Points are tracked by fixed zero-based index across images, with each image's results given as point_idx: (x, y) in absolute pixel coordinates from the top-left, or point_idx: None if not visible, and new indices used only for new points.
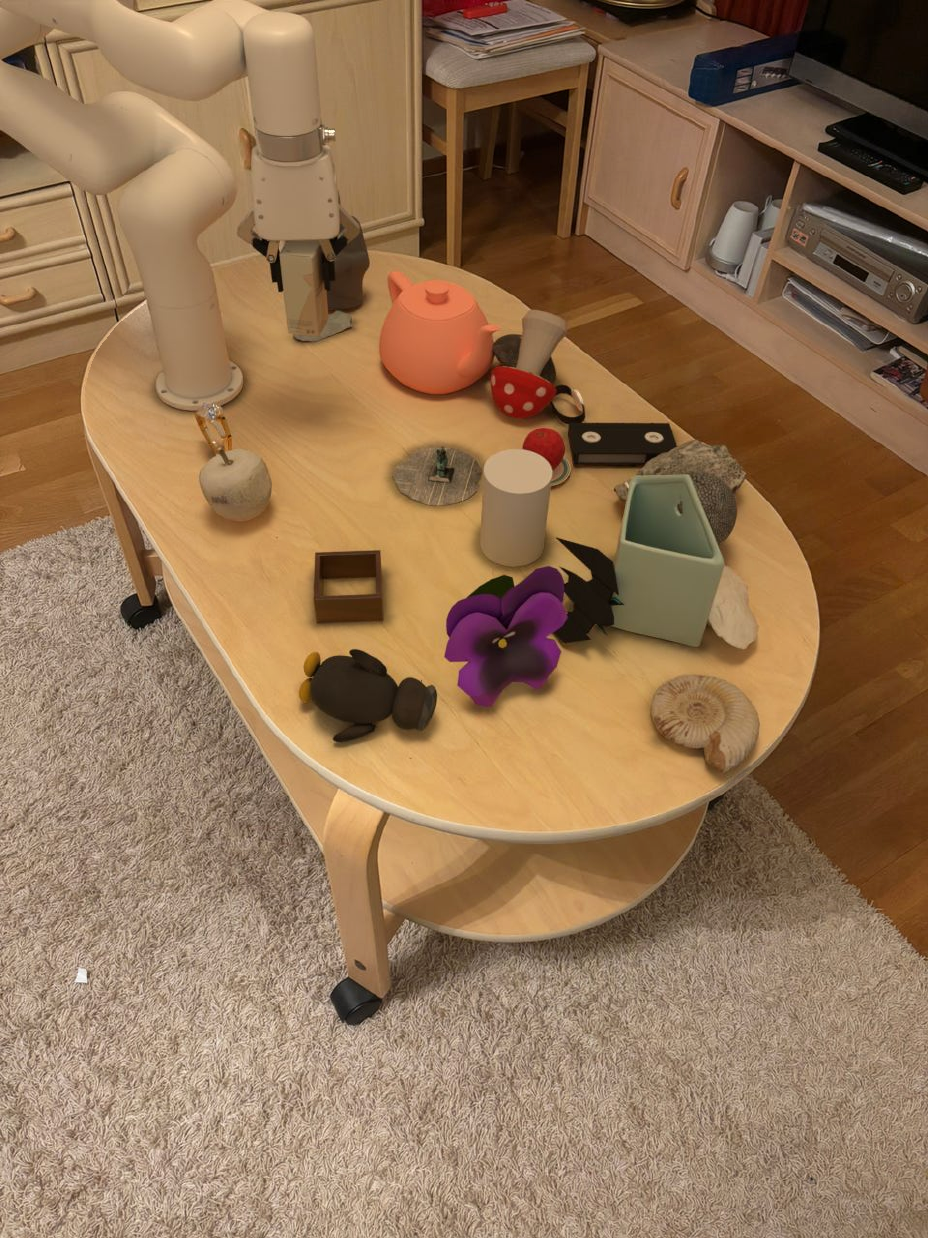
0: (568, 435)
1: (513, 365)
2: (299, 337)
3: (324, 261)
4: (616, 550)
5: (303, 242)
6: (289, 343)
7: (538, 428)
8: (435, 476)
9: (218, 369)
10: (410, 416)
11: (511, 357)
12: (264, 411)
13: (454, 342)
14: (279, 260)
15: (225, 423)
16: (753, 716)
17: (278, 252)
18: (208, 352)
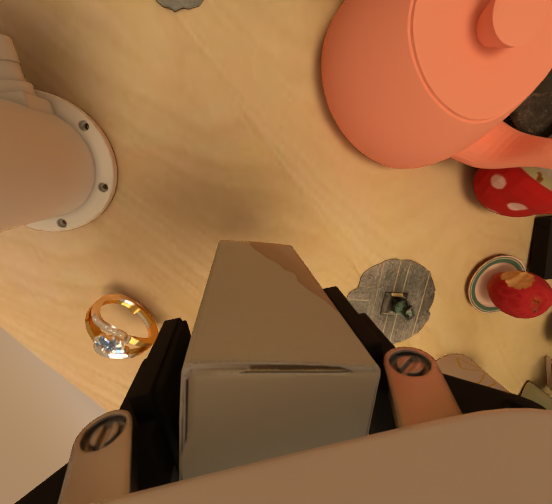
0: (536, 223)
1: (530, 130)
2: (166, 1)
3: (371, 429)
4: (541, 403)
5: (284, 435)
6: (151, 16)
7: (533, 287)
8: (389, 312)
9: (70, 195)
10: (360, 204)
11: (537, 120)
12: (168, 215)
13: (479, 137)
14: (174, 453)
15: (142, 345)
16: None
17: (158, 461)
18: (37, 212)
